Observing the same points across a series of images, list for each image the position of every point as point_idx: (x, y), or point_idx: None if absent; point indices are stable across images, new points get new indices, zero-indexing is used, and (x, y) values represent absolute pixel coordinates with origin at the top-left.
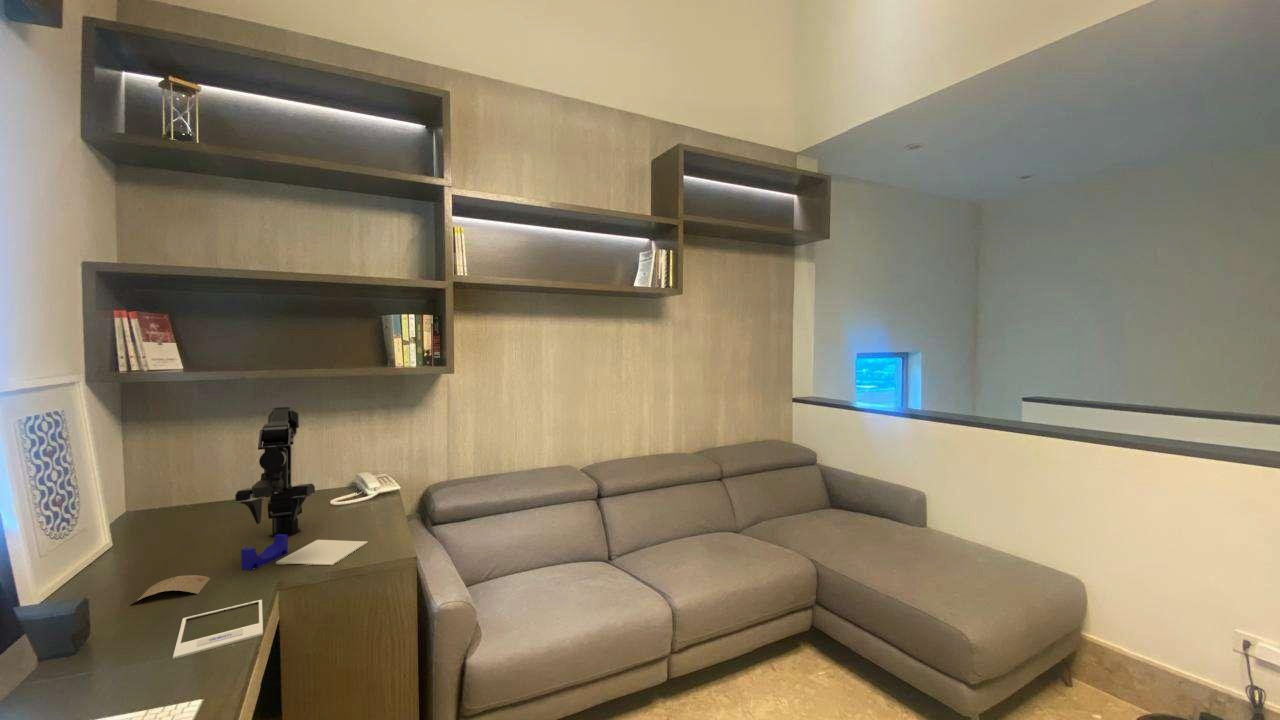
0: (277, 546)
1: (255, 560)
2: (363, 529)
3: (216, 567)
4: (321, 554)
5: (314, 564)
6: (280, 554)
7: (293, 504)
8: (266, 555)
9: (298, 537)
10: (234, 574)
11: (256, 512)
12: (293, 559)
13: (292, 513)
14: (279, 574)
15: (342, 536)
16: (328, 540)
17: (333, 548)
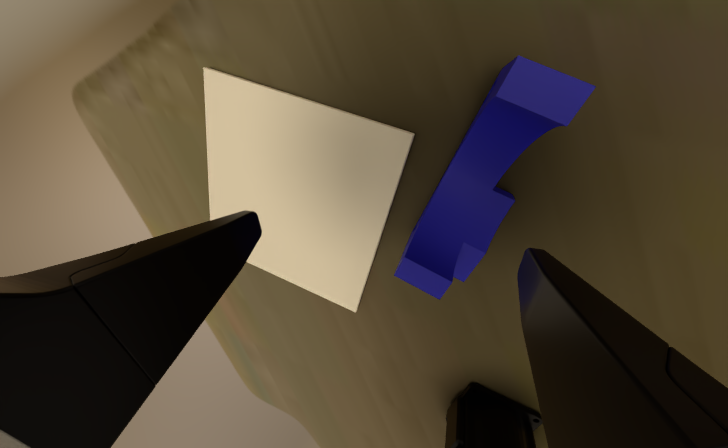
0: (434, 232)
1: (489, 96)
2: (277, 345)
3: (714, 152)
4: (282, 175)
5: (263, 85)
6: (424, 211)
7: (69, 276)
8: (471, 196)
9: (431, 364)
10: (577, 27)
11: (590, 344)
12: (354, 148)
13: (196, 232)
14: (352, 3)
15: (305, 319)
16: (319, 292)
17: (272, 220)
